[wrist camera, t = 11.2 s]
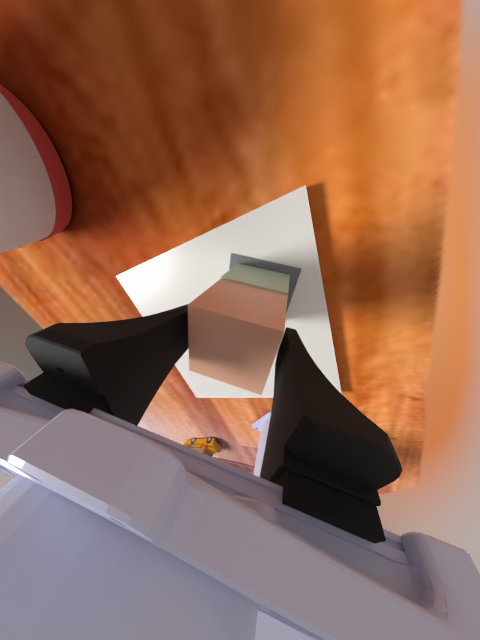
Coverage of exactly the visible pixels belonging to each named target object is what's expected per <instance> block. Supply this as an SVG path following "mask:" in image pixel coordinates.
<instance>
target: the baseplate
mask: <svg viewBox="0 0 480 640" xmlns="http://www.w3.org/2000/svg"><path fill="white" fill-rule="evenodd" d="M238 263H239V264H244V265H248V266H253V267H257V268H261V269H266V270H270V271H275V272H279V273H284V274H288V275H290V279H289V290H288V299H287V309H286V320H285V329H286V327H288V328H292V329H295V330H296V331H297V332H298V334H299V336H300V338H301V340H302V342H303V344H304V346H305V348H306V350H307V351H308V353H309V355H310V356H311V358H312V359H313V361H314V362H315V364H316V365H317V366H318V368H319V369H320V370H321V372H322V373H323V374H324V375H325V377H326V378H327V379H328V380H329V381H330V382H331V383H332V384H333V386H334V387H335V388H336V389H337V390H338V391H339V392H340V393H341V394H342V392H341V387H340V381H339V375H338V369H337V363H336V358H335V352H334V346H333V340H332V334H331V329H330V323H329V317H328V311H327V305H326V299H325V294H324V288H323V282H322V276H321V270H320V265H319V259H318V253H317V247H316V241H315V236H314V230H313V224H312V218H311V212H310V207H309V201H308V195H307V189H306V185H305V186H303V187H301V188H299V189H296V190H294V191H292V192H290V193H288V194H286V195H284V196H282V197H280V198H278V199H276V200H274V201H271V202H269V203H267V204H265V205H263V206H261V207H259V208H257V209H255V210H253V211H251V212H248V213H246V214H244V215H242V216H240V217H238V218H236V219H234V220H232V221H230V222H228V223H226V224H223V225H221V226H219V227H217V228H215V229H213V230H211V231H209V232H207V233H205V234H203V235H201V236H198V237H196V238H194V239H192V240H190V241H188V242H186V243H184V244H182V245H180V246H178V247H175V248H173V249H171V250H169V251H167V252H165V253H163V254H161V255H159V256H157V257H155V258H153V259H150V260H148V261H146V262H144V263H142V264H140V265H138V266H136V267H134V268H132V269H130V270H128V271H125V272H123V273H121V274H119V275H117V276H116V277H117V279H118V280H119V282H120V283H121V285H122V286H123V288H124V289H125V291H126V292H127V294H128V295H129V297H130V298H131V300H132V301H133V303H134V304H135V306H136V307H137V309H138V310H139V312H140V313H141V315H142V316H143V317H144V316H149V315H153V314H157V313H160V312H164V311H167V310H171V309H174V308H177V307H180V306H183V305H186V304H189V303H191V302H192V301H193V300H194V299H196V298H197V297H198V296H199V295H201V294H202V293H203V292H204V291H206V290H207V289H208V288H210V287H211V286H212V285H213V284H215V283H216V282H217V281H218V280H220V279H221V276H222V275H224V274H225V273H226V272H228V271H229V270H230V269H232V268H233V267H234V266H235V265H237V264H238ZM284 332H285V330H284ZM283 335H284V334H283ZM282 338H283V337H282ZM279 346H280V345H279ZM278 349H279V348H278ZM277 352H278V351H277ZM276 358H277V354H276V356H275V359H274V362H273V365H272V367H271V370H270V373H269V376H268V379H267V381H266V384H265V387H264V390H263V392H262V395H260V394H257V393H254V392H251V391H248V390H245V389H242V388H239V387H236V386H233V385H230V384H227V383H225V382H222V381H219V380H216V379H213V378H210V377H207V376H204V375H201V374H198V373H195V372H192V371H190V370H189V348H188V349H187V351H186V352H185V353H184V354H183V355H182V357H181V358H180V359H179V360H178V361H177V362H176V364H175V366H176V367H177V369H178V370H179V372H180V373H181V375H182V376H183V378H184V379H185V381H186V382H187V384H188V385H189V387H190V388H191V390H192V391H193V393H194V394H195V396H196V397H197V398H273V396H274V378H275V363H276Z"/></svg>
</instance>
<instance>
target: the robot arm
mask: <svg viewBox="0 0 480 640" xmlns="http://www.w3.org/2000/svg"><path fill="white" fill-rule="evenodd" d="M25 344H26V347H27V349H28V351H29V352H30V354H31V355H32V357H33V358H34V360H35V361H36V362H37V364H38V365H39V366H40V368H41V369H42V371H43V372H44V373H42V374H41V375H39V376H37V377H36V378H34V379H32V380H31V381H28V380H26V377H25V376H24V374H23V373H22V372H21V371H20V370H19V369H17V368H16V367H14V366H12V365H10V364H7V363H5V362H2V361H0V470H2V471H4V472H6V473H7V474H9V475H11V476H13V477H14V478H13V479H12V480H11V481H10V482H9V483H8V484H7V485H6V486H4V487H3V488H2V489H1V490H0V640H480V574H479V572H478V571H477V568H476V566H475V565H474V563H473V561H472V559H471V557H470V555H469V554H468V553H467V552H466V551H465V550H463V549H460V548H458V547H456V546H453V545H451V544H448V543H446V542H443V541H441V540H438V539H436V538H434V537H431V536H428V535H425V534H422V533H416V532H409V533H405V534H403V535H402V536H399V535H397V534H394V533H392V532H389V531H387V530H385V529H383V528H382V524H381V521H380V517H379V514H378V510H377V507H376V506H380V505H381V501H380V498H379V495H378V491H377V490H378V489H380V488H382V487H384V486H386V485H388V484H390V483H392V482H393V481H395V480H396V479H397V478H399V476H400V475H401V472H402V467H401V464H400V461H399V459H398V457H397V454H396V452H395V450H394V447H393V445H392V443H391V441H390V439H389V437H388V434H387V433H385V432H384V431H383V430H382V429H381V428H379V427H378V426H377V425H376V424H375V423H373V422H372V421H371V420H370V419H368V418H367V417H366V416H365V415H364V414H362V413H361V412H360V411H359V410H358V409H357V408H356V407H355V406H354V405H352V404H351V403H350V402H349V401H348V400H347V399H346V398H345V397H344V396H343V395H342V394H341V393H340V392H339V391H338V390H337V389H336V388H335V387H334V386H333V384H332V383H331V382H330V381H329V380H328V379H327V378H326V377H325V375H324V374H323V373H322V372H321V370H320V369H319V368H318V366H317V365H316V364H315V362H314V361H313V359H312V358H311V356H310V355H309V353H308V351H307V350H306V348H305V346H304V344H303V342H302V340H301V338H300V336H299V334H298V332H297V331H296V330H295V329H292V328H288V327H286V329H285V332H284V335H283V338H282V340H281V343H280V346H279V349H278V352H277V358H276V363H275V378H274V396H273V404H272V410H271V411H270V412H269V413H267V414H266V415H264V416H263V417H261V418H260V419H259V420H257V421H256V422H254V423H253V424H252V427H253V428H254V429H256V430H257V431H259V432H260V438H259V444H258V450H257V456H256V462H255V469H254V475H253V474H251V473H248V472H246V471H244V470H241V469H239V468H237V467H234V466H232V465H229V464H227V463H225V462H222V461H220V460H217V459H215V458H213V457H210V456H208V455H205V454H203V453H201V452H198V451H196V450H193V449H191V448H189V447H186V446H184V445H182V444H179V443H177V442H174V441H172V440H170V439H167V438H165V437H162V436H160V435H158V434H155V433H153V432H150V431H148V430H146V429H143V428H141V427H138V426H137V425H138V423H139V422H140V420H141V418H142V416H143V414H144V413H145V411H146V409H147V407H148V406H149V404H150V402H151V401H152V399H153V397H154V396H155V394H156V392H157V391H158V389H159V387H160V386H161V384H162V383H163V381H164V380H165V378H166V377H167V375H168V374H169V372H170V371H171V369H172V368H173V366H174V365H175V364H176V362H177V361H178V360H179V359H180V358H181V357H182V355H183V354H184V353H185V352H186V351H187V349H188V348H189V345H188V304H186V305H183V306H180V307H177V308H174V309H171V310H167V311H164V312H160V313H157V314H153V315H149V316H144V317H139V318H133V319H126V320H119V321H109V322H96V323H58V324H55V325H52V326H50V327H48V328H45V329H43V330H41V331H38V332H36V333H34V334H32V335H29V336H28V337H27V338H26V343H25Z"/></svg>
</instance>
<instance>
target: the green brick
mask: <svg viewBox="0 0 480 640" xmlns="http://www.w3.org/2000/svg"><path fill="white" fill-rule="evenodd" d="M221 279H225V280H229V281H233V282H237V283H241V284H245V285H249V286H253V287H257V288H261V289H266V290H270V291H274V292H278V293H282V294H286V295H288V290H289V279H290V275H288V274H284V273H279V272H275V271H270V270H266V269H261V268H257V267H253V266H248V265H244V264H239V263H238V264H237V265H235V266H234V267H233V268H232V269H230V270H229V271H228V272H226V273H225V274H224V275H222V276H221Z"/></svg>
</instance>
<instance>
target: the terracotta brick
mask: <svg viewBox="0 0 480 640" xmlns="http://www.w3.org/2000/svg"><path fill="white" fill-rule="evenodd" d="M287 299H288V295H286V294H282V293H278V292H274V291H270V290H266V289H261V288H257V287H253V286H249V285H245V284H241V283H237V282H233V281H229V280H225V279H220V280H218V281H217V282H216V283H215V284H213V285H212V286H211V287H210V288H208V289H207V290H206V291H204V292H203V293H202V294H201V295H199V296H198V297H197V298H196V299H194V300H193V301H192V302H191V303H189V304H188V345H189V370H190V371H192V372H195V373H198V374H201V375H204V376H207V377H210V378H213V379H216V380H219V381H222V382H225V383H227V384H230V385H233V386H236V387H239V388H242V389H245V390H248V391H251V392H254V393H257V394H260V395H262V392H263V390H264V387H265V384H266V381H267V379H268V376H269V373H270V370H271V367H272V365H273V362H274V359H275V356H276V354H277V351H278V348H279V345H280V343H281V340H282V337H283V334H284V330H285V320H286V309H287Z"/></svg>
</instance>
